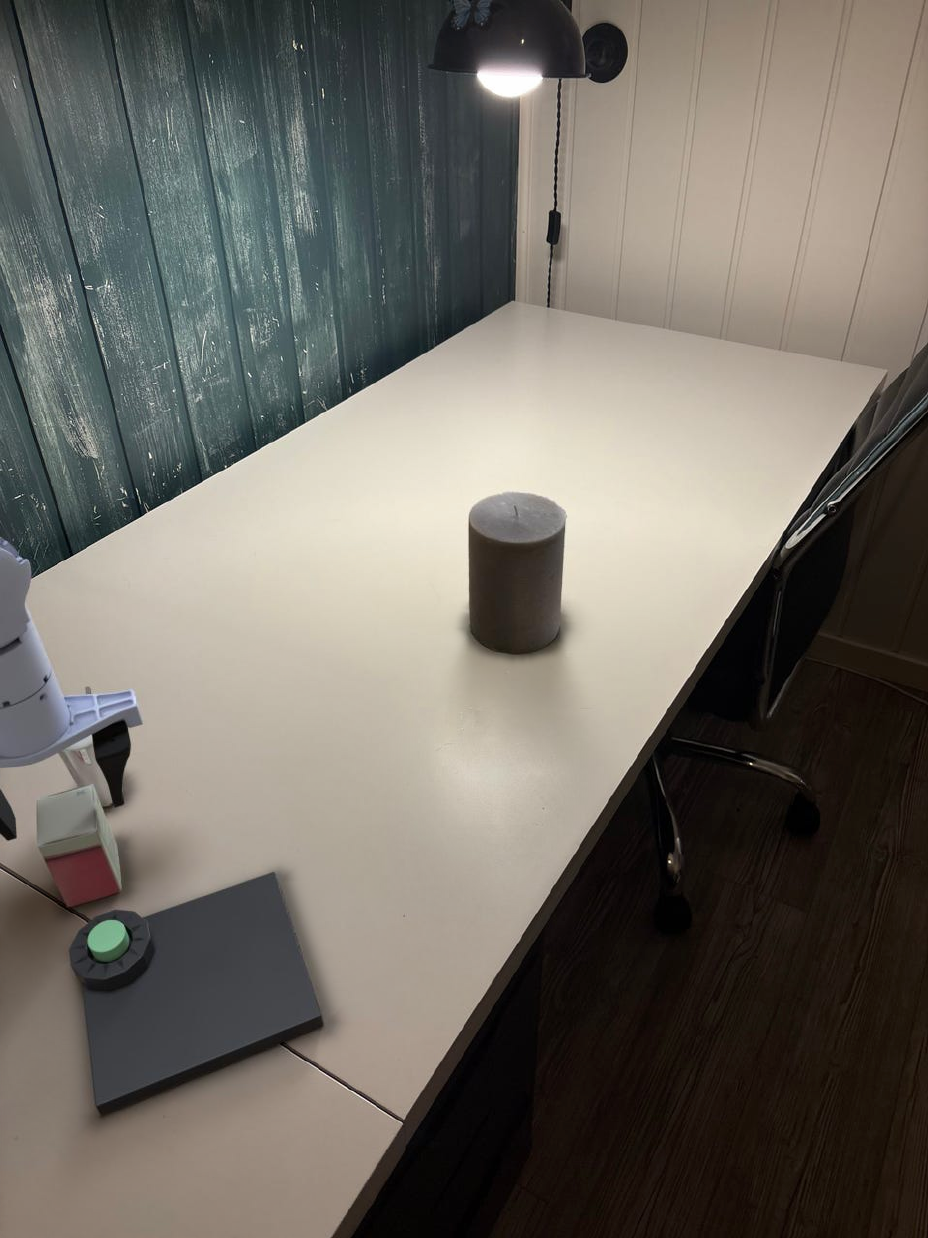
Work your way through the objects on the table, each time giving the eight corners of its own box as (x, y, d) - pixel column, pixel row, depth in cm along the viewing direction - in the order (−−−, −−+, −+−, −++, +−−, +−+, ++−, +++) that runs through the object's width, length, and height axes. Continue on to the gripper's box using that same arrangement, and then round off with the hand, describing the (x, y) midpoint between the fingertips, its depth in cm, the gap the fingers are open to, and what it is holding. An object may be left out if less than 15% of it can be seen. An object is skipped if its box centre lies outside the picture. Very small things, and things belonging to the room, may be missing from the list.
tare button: (94, 968, 65) (89, 957, 64) (90, 937, 67) (85, 927, 66) (132, 954, 66) (127, 944, 65) (127, 925, 67) (122, 914, 67)
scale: (96, 1118, 59) (84, 1097, 57) (78, 948, 69) (66, 926, 67) (323, 1026, 64) (319, 1003, 62) (276, 879, 73) (271, 855, 72)
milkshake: (142, 769, 83) (114, 688, 77) (119, 816, 79) (87, 734, 72) (94, 766, 83) (62, 685, 77) (68, 812, 79) (32, 730, 73)
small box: (64, 860, 75) (34, 797, 70) (118, 844, 76) (93, 781, 71) (66, 910, 71) (35, 847, 67) (123, 893, 73) (97, 830, 68)
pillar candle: (484, 661, 94) (483, 539, 84) (459, 605, 101) (456, 487, 92) (573, 644, 96) (583, 522, 86) (542, 590, 103) (548, 472, 93)
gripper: (112, 616, 66) (155, 748, 74) (-112, 673, 61) (-39, 805, 70) (125, 677, 60) (170, 811, 69) (-119, 743, 56) (-39, 877, 65)
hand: (65, 813), depth 69 cm, fingers open, 7 cm apart
